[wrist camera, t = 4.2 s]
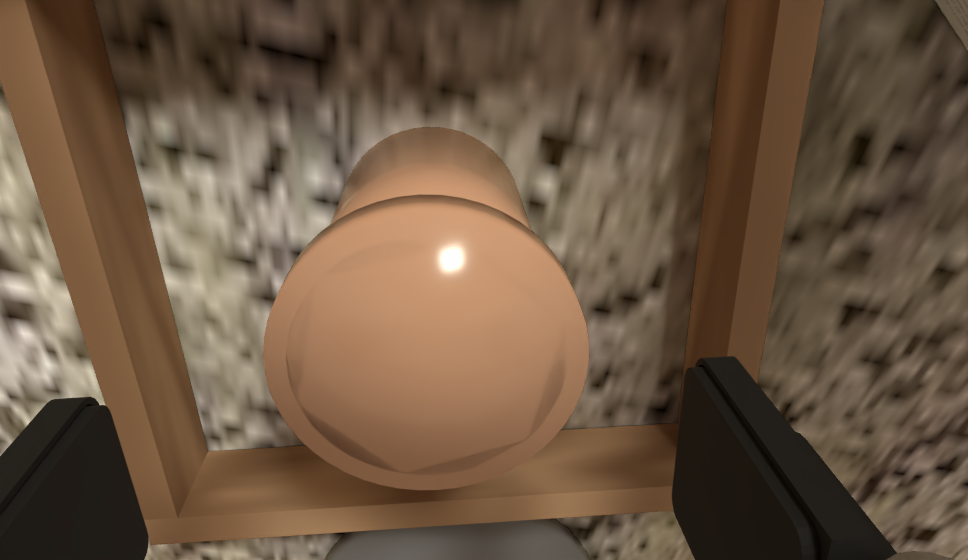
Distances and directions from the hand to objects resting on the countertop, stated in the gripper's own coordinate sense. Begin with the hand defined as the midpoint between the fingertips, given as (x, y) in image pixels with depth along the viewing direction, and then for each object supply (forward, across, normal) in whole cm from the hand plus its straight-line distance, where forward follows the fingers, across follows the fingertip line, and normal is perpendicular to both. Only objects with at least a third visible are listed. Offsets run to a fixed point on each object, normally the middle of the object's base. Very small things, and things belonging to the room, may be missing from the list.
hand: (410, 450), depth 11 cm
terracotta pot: (+10, 0, -1) cm, 10 cm away
